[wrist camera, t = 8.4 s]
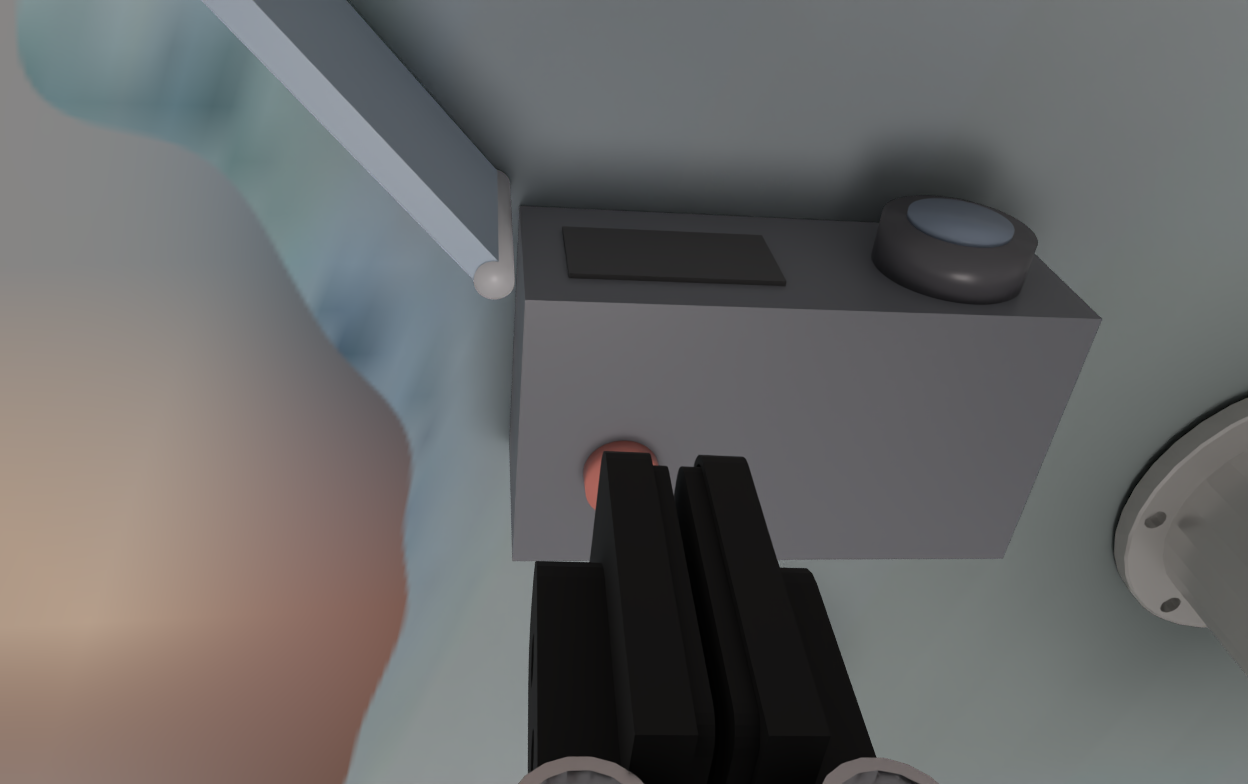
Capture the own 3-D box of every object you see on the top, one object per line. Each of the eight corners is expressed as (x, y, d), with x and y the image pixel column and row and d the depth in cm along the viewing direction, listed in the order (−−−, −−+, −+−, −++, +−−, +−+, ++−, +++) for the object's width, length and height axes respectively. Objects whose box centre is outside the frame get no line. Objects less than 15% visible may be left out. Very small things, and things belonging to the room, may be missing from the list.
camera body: (1024, 182, 32) (1139, 281, 26) (935, 448, 37) (1013, 575, 32) (521, 155, 29) (529, 256, 24) (509, 443, 35) (512, 579, 29)
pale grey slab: (199, -86, 25) (123, -37, 20) (241, -127, 24) (174, -88, 19) (479, 217, 30) (477, 317, 25) (517, 187, 30) (522, 283, 24)
